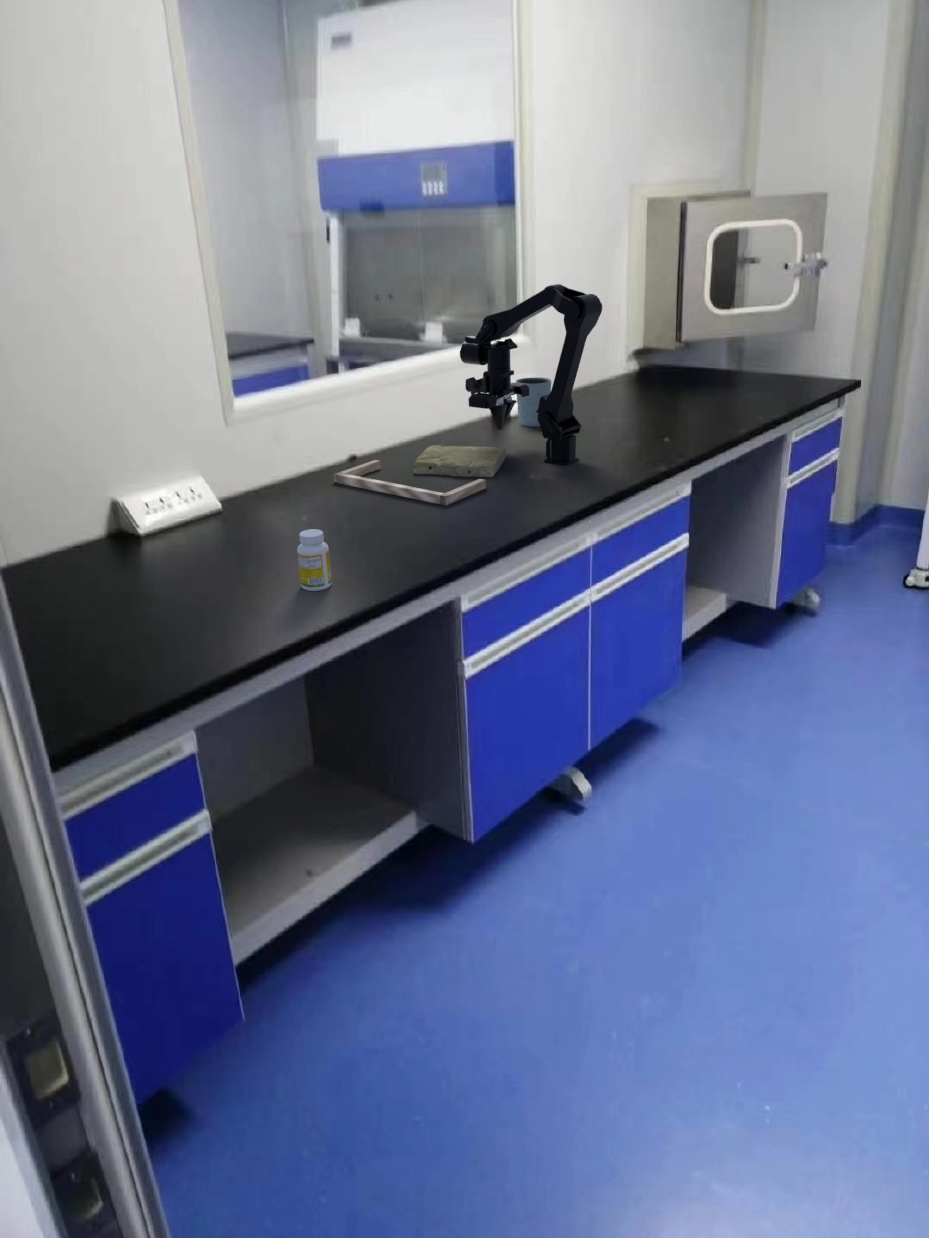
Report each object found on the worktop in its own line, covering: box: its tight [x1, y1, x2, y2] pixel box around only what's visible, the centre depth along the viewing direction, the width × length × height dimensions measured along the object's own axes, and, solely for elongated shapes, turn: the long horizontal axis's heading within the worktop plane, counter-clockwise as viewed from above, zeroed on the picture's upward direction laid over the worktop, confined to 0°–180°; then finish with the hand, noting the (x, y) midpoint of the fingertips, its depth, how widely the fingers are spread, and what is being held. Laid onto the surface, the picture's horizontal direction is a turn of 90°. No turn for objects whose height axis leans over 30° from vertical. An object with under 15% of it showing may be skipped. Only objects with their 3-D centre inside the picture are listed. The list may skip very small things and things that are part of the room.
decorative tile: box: [413, 444, 507, 478], centre depth 227 cm, size 19×20×4 cm
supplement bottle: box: [296, 528, 332, 592], centre depth 160 cm, size 5×5×10 cm
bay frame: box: [333, 459, 487, 506], centre depth 214 cm, size 33×14×2 cm, turn 53°
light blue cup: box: [514, 377, 552, 428], centre depth 263 cm, size 10×10×12 cm
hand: (500, 429), depth 237 cm, fingers closed
